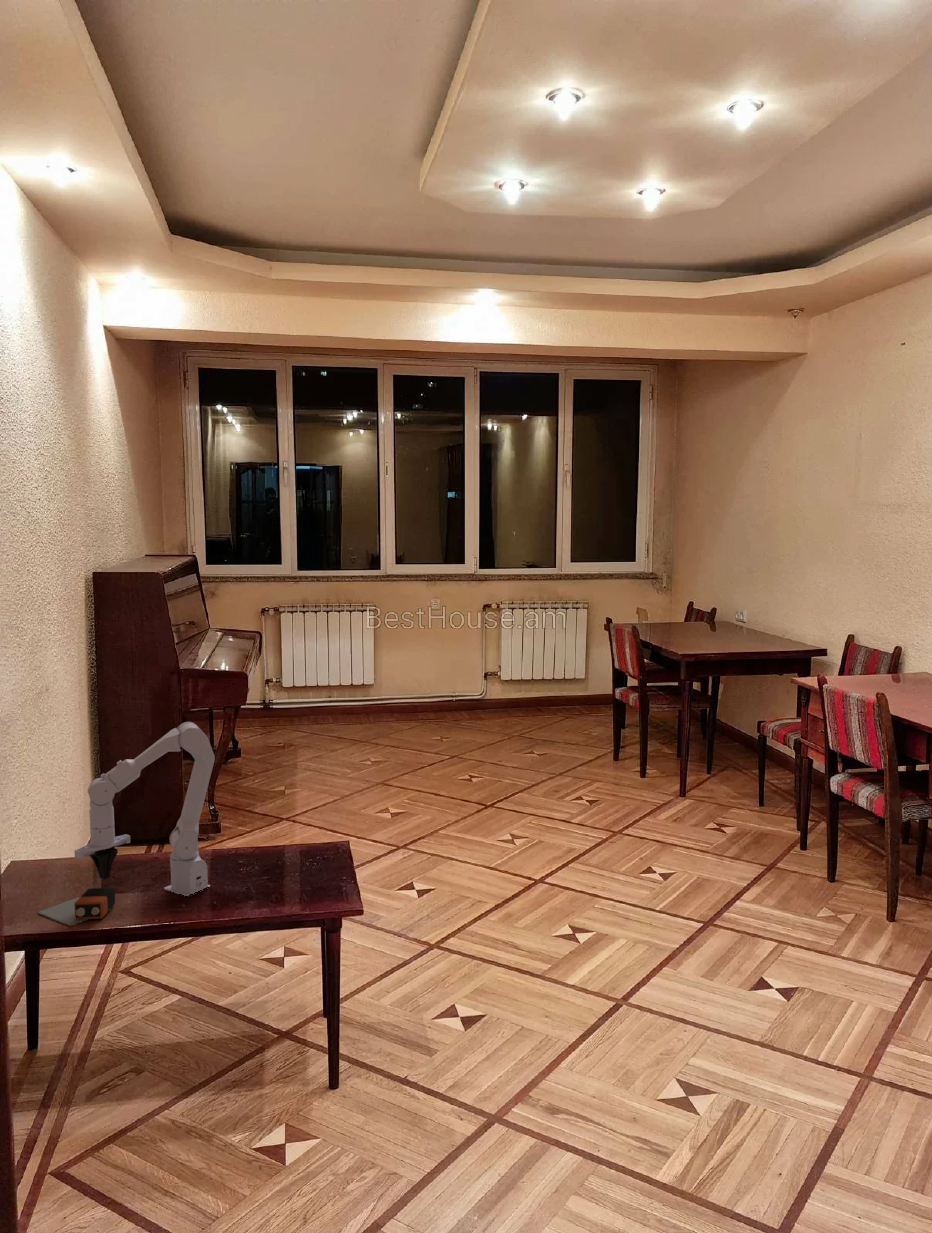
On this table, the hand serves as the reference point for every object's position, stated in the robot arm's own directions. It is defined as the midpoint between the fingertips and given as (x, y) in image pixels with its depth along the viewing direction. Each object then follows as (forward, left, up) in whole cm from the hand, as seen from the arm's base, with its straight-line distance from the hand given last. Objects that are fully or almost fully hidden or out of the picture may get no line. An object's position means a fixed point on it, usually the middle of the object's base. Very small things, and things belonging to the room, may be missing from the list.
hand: (104, 877), depth 221 cm
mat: (+1, +8, -6) cm, 10 cm away
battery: (-1, +2, -4) cm, 4 cm away
